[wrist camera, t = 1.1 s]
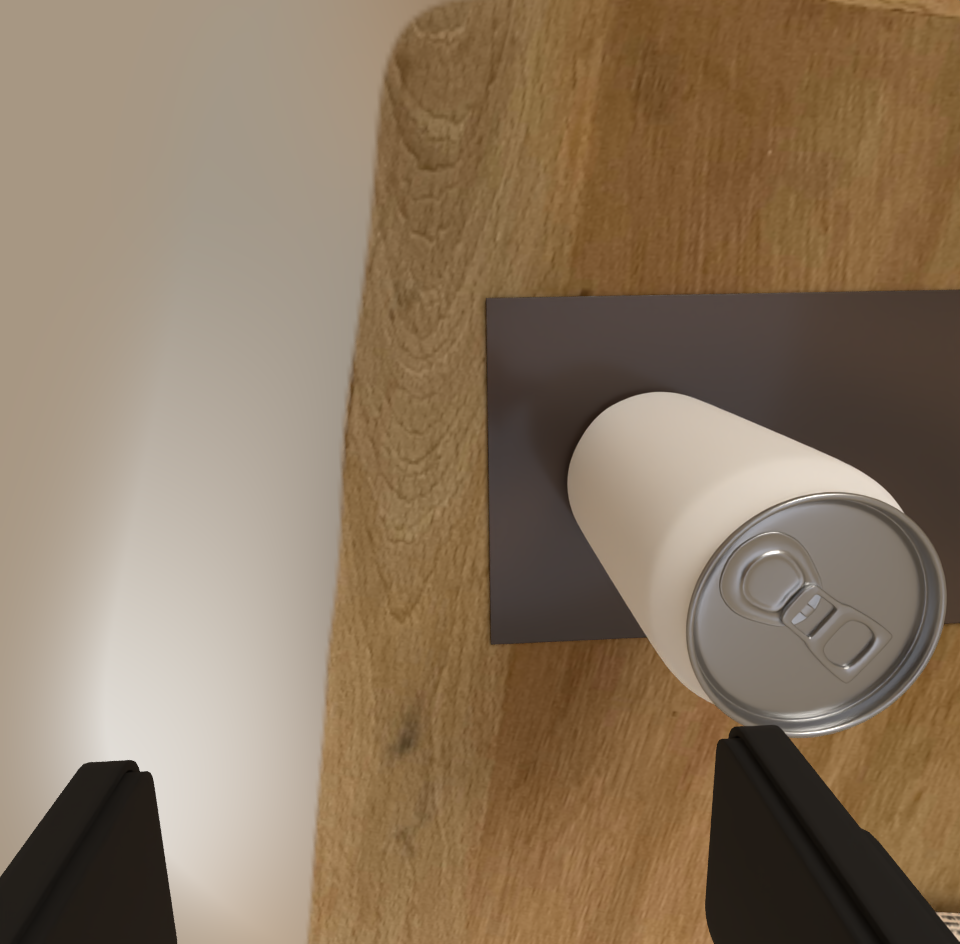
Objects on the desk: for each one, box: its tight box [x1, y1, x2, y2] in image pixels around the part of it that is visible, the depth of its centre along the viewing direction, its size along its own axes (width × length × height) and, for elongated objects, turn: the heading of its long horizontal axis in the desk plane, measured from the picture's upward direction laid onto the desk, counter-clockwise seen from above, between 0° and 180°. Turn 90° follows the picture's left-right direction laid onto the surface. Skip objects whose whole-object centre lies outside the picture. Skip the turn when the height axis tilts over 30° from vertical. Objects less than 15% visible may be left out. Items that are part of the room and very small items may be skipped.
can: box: [567, 392, 947, 738], centre depth 21 cm, size 6×6×12 cm
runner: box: [486, 290, 960, 645], centre depth 28 cm, size 13×34×1 cm, turn 91°
